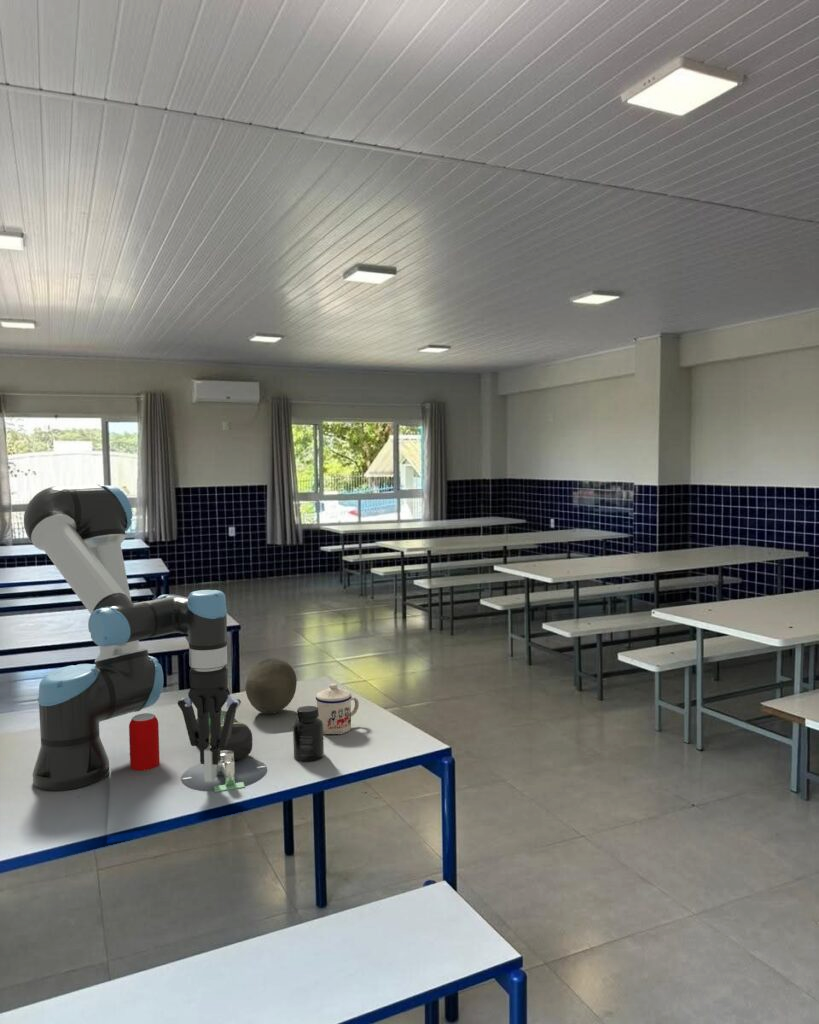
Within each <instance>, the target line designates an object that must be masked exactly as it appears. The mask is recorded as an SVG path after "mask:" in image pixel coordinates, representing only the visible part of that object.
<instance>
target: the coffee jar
mask: <svg viewBox="0 0 819 1024" xmlns="http://www.w3.org/2000/svg"><path fill="white" fill-rule="evenodd" d="M226 712H227V710H221V734H222V730H223V725H224V721H225V716H226ZM196 721H197V725H198V717H196ZM198 729H199V725H198ZM210 741H211V725H210V717H209V742H210ZM208 746H211V742H210V744H209V745H208ZM223 750H230V751H233V752H234V760H238V759H242V758H247V757H248V756H249V755H250V754H251V752H252V750H253V733H252V730H251V729H250V727H249V725H247V724H246V723H244V722H240V721H238V720H237V719H236V717H235V718H234V722H233V727H232V732H231V736H230V741H229V743H228V744H227V745H226V746H225V747H223V748H220V751H223Z"/></svg>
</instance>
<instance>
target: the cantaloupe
mask: <svg viewBox="0 0 819 1024" xmlns="http://www.w3.org/2000/svg"><path fill="white" fill-rule="evenodd" d="M297 680H298V679H297V675H296V672H295V670H294V668H293V667H292V665H291V664H290V663H288V661H286V660H284V659H280V658H273V657H271V658H265V659H262V660H260V661H257V662H256V663H255V664H254V665H253V666H252V668H250V670H249V672H248V674H247V678H246V683H245V693H246V694H245V695H246V697H247V699H248V701H249V703H250V705H251V706H252V707H253V708H254V709H255V710H256V711H257V712H259V713H262V714H266V715H271V714H272V715H274V714H276V713H278V712H280V711H282V710H283V709H285V708H286V707H288V706H289V705H290V703H291V702H292V700H293V699H294V697H295V694H296V690H297V684H298V683H297Z"/></svg>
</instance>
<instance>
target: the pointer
mask: <svg viewBox="0 0 819 1024" xmlns="http://www.w3.org/2000/svg"><path fill="white" fill-rule="evenodd" d="M220 756H221V760H220V762H219V763H218V764H217V775H219V776H224V777H225V785H228V786H229V785H233V784H235V764H234V752H233V751H230V750H223V751H220Z"/></svg>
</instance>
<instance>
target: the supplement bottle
mask: <svg viewBox="0 0 819 1024" xmlns="http://www.w3.org/2000/svg"><path fill="white" fill-rule="evenodd" d="M318 716H319V714H318V707H317V706H314V705H305V706H300V707H299V708H297V710H296V718H297V720H295V721H294V722H293V725H292V732H293V733H292V737H293V739H292V740H293V759H294V760H295V761H297V762H300V763H313V762H317V761H320V760H322V759H323V758H324V755H325V754H324V753H325V752H324V750H325V749H324V748H325V747H324V744H325V743H324V734H323V722H322V721H321V720H320V719H319V718H318Z"/></svg>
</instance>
